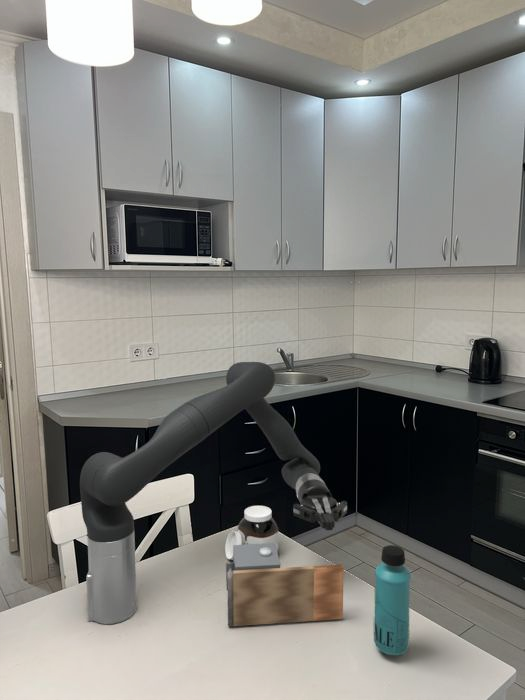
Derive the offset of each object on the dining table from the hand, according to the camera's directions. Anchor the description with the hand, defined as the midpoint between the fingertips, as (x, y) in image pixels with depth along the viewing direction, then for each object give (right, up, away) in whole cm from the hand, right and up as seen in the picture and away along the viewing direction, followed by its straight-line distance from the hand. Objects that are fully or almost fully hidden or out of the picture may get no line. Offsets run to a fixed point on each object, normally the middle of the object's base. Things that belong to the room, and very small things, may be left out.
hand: (329, 526), depth 109 cm
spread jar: (-17, -15, +20) cm, 30 cm away
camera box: (-15, -17, -1) cm, 23 cm away
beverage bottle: (+9, -19, -14) cm, 25 cm away
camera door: (-10, -17, -6) cm, 20 cm away
